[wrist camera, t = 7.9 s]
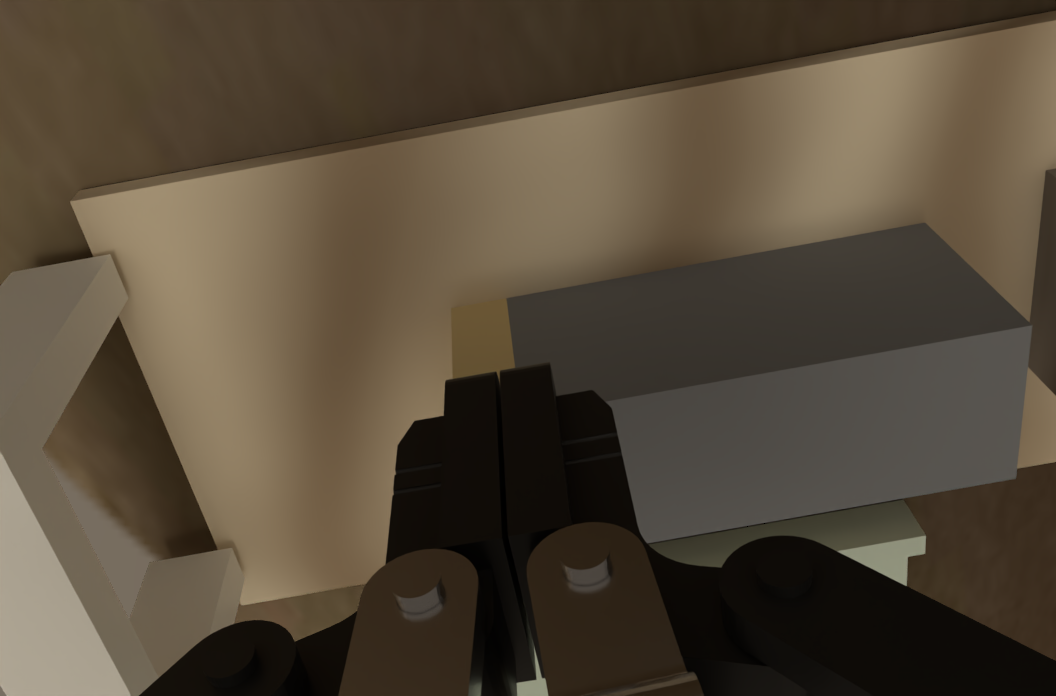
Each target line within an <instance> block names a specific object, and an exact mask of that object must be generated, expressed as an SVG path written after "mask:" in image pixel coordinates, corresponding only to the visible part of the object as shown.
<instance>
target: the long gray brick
mask: <svg viewBox="0 0 1056 696" xmlns="http://www.w3.org/2000/svg"><path fill="white" fill-rule="evenodd" d="M451 328H452V374H453V379H454V378H460V377H466V376H472V375H477V374H483V373H489V372H495V371H496V372H497V375H498V378H499V382H500V370H505V369H511V368H516V367H522V366H528V365H534V364H539V363H545V362H550V364H551V369H552V374H553V379H554V384H555V389H556V395H557V396H559V395H565V394H571V393H577V392H582V391H588V390H593V391H594V392H595V393H596V394H598V395H599V396H600V397H601V398H602V399H603V400H604V401H605V402H606V403H607V404H608V405H609V406H610V407H611V408H612V411H613V415H614V420H615V424H616V429H617V434H618V438H619V443H620V447H621V452H622V456H623V461H624V465H625V470H626V474H627V479H628V483H629V488H630V493H631V497H632V502H633V506H634V511H635V515H636V520H637V524H638V528H639V531H640V534H641V535H642V537H643V539H644V540H645V541H646V542H647V544H648V543H653V542H659V541H665V540H670V539H676V538H682V537H687V536H693V535H699V534H705V533H710V532H716V531H722V530H727V529H733V528H739V527H744V526H750V525H756V524H761V523H767V522H773V521H778V520H784V519H790V518H795V517H801V516H807V515H812V514H818V513H824V512H829V511H835V510H841V509H846V508H852V507H858V506H863V505H869V504H875V503H880V502H886V501H892V500H897V499H903V498H909V497H914V496H920V495H926V494H931V493H937V492H943V491H948V490H954V489H960V488H965V487H971V486H977V485H982V484H988V483H994V482H999V481H1005V480H1011V479H1016V474H1017V464H1018V455H1019V446H1020V436H1021V427H1022V418H1023V408H1024V399H1025V390H1026V380H1027V371H1028V362H1029V352H1030V343H1031V334H1032V324H1030V323H1029V322H1028V321H1027V320H1026V319H1025V318H1024V317H1023V316H1022V315H1021V314H1020V313H1019V312H1018V311H1017V310H1016V309H1015V308H1014V307H1013V306H1012V305H1011V304H1010V303H1009V302H1008V301H1006V300H1005V299H1004V298H1003V297H1002V296H1001V295H1000V294H999V293H998V292H997V291H996V290H995V289H994V288H993V287H992V286H991V285H990V284H989V283H988V282H987V281H986V280H985V279H984V278H982V277H981V276H980V275H979V274H978V273H977V272H976V271H975V270H974V269H973V268H972V267H971V266H970V265H969V264H968V263H967V262H966V261H965V260H964V259H963V258H962V257H961V256H960V255H958V254H957V253H956V252H955V251H954V250H953V249H952V248H951V247H950V246H949V245H948V244H947V243H946V242H945V241H944V240H943V239H942V238H941V237H940V236H939V235H938V234H937V233H935V232H934V231H933V230H932V229H931V228H930V227H929V226H928V225H927V224H926V223H920V224H914V225H908V226H903V227H897V228H892V229H886V230H881V231H875V232H870V233H864V234H859V235H853V236H848V237H842V238H837V239H831V240H826V241H820V242H814V243H809V244H803V245H798V246H792V247H787V248H781V249H776V250H770V251H765V252H759V253H754V254H748V255H743V256H737V257H732V258H726V259H721V260H715V261H709V262H704V263H698V264H693V265H687V266H682V267H676V268H671V269H665V270H660V271H654V272H649V273H643V274H638V275H632V276H627V277H621V278H615V279H610V280H604V281H599V282H593V283H588V284H582V285H577V286H571V287H566V288H560V289H555V290H549V291H544V292H538V293H533V294H527V295H522V296H516V297H510V298H505V299H499V300H494V301H488V302H483V303H477V304H472V305H466V306H461V307H455V308H451Z"/></svg>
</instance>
